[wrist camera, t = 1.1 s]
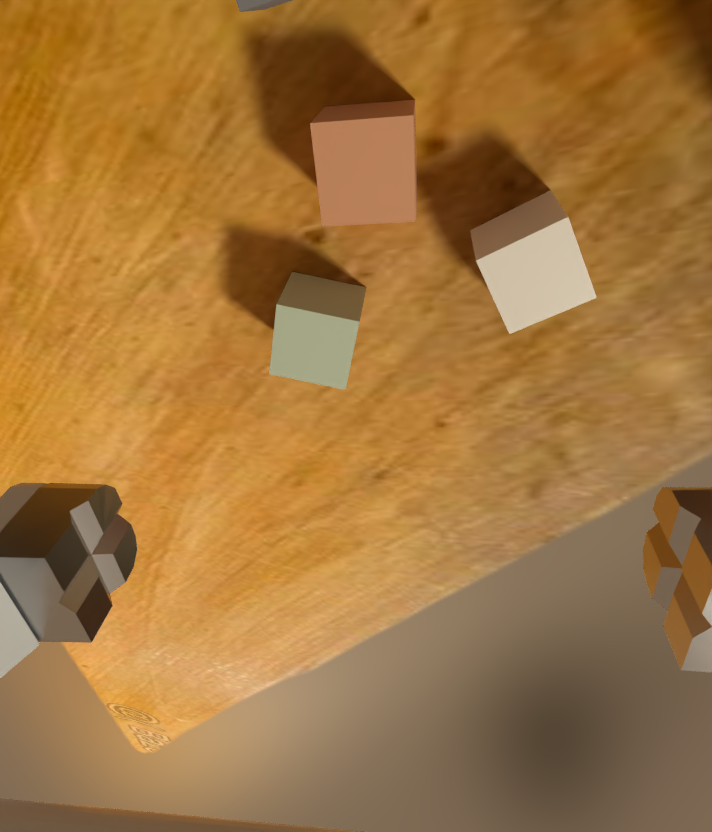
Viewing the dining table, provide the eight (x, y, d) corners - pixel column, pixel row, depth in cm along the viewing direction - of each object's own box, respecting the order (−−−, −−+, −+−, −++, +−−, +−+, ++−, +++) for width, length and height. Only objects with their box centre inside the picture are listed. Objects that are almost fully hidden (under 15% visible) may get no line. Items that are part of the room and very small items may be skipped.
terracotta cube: (324, 106, 31) (309, 123, 27) (415, 99, 31) (413, 115, 27) (334, 199, 34) (322, 226, 30) (416, 194, 34) (415, 221, 30)
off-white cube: (469, 230, 35) (475, 260, 31) (550, 189, 33) (568, 216, 29) (500, 297, 37) (509, 334, 33) (577, 263, 35) (596, 297, 31)
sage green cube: (292, 271, 37) (276, 304, 33) (366, 286, 38) (359, 321, 34) (284, 336, 40) (269, 374, 36) (353, 350, 41) (345, 389, 37)
